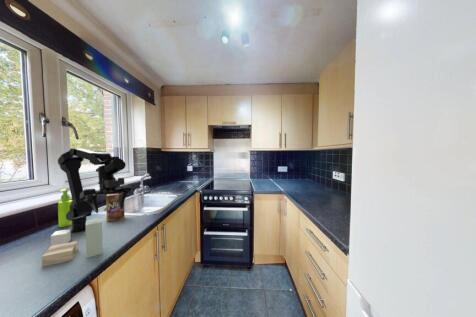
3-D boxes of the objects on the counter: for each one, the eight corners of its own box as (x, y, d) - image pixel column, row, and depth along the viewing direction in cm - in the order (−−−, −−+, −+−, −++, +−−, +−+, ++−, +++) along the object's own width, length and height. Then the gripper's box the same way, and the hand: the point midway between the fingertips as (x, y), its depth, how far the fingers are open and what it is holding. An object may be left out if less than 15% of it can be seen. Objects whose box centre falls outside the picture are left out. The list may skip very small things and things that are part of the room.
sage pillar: (86, 252, 73) (86, 220, 72) (102, 248, 76) (101, 218, 75) (86, 258, 69) (85, 225, 68) (102, 253, 72) (101, 221, 72)
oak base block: (51, 255, 71) (51, 245, 70) (78, 250, 75) (77, 241, 74) (42, 267, 64) (41, 256, 64) (72, 260, 68) (71, 250, 68)
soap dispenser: (55, 228, 94) (54, 190, 93) (61, 223, 100) (60, 188, 99) (70, 226, 96) (69, 189, 95) (75, 221, 102) (74, 187, 102)
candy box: (106, 222, 103) (106, 195, 102) (106, 219, 107) (106, 194, 106) (124, 218, 108) (124, 193, 107) (124, 216, 112) (124, 192, 111)
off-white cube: (56, 242, 80) (55, 231, 80) (70, 239, 83) (70, 229, 83) (51, 247, 76) (50, 236, 76) (66, 244, 79) (66, 233, 78)
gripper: (86, 171, 72) (89, 210, 68) (135, 171, 87) (140, 202, 83) (78, 180, 77) (80, 217, 73) (125, 179, 93) (129, 208, 88)
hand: (110, 210), depth 79 cm, fingers open, 9 cm apart
